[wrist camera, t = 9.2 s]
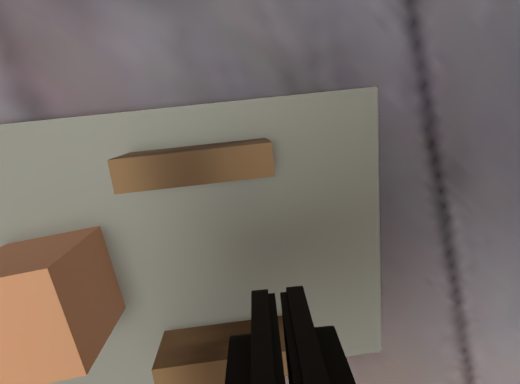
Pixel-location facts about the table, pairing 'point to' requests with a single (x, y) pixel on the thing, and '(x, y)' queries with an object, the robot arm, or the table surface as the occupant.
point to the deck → (212, 216)
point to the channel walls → (189, 174)
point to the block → (55, 306)
